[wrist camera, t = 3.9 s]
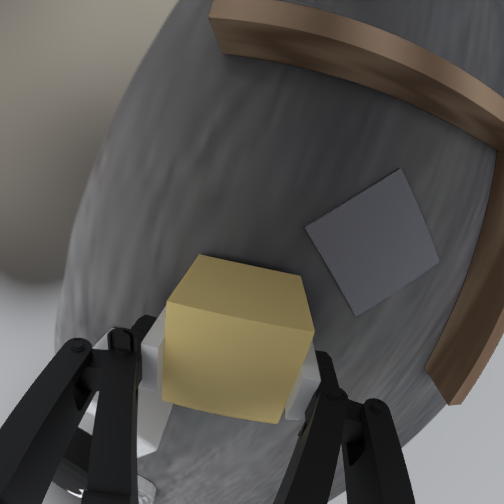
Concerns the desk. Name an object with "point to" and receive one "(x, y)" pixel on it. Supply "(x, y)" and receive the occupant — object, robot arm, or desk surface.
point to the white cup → (145, 491)
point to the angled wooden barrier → (420, 95)
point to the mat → (375, 242)
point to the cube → (235, 339)
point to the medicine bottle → (78, 451)
